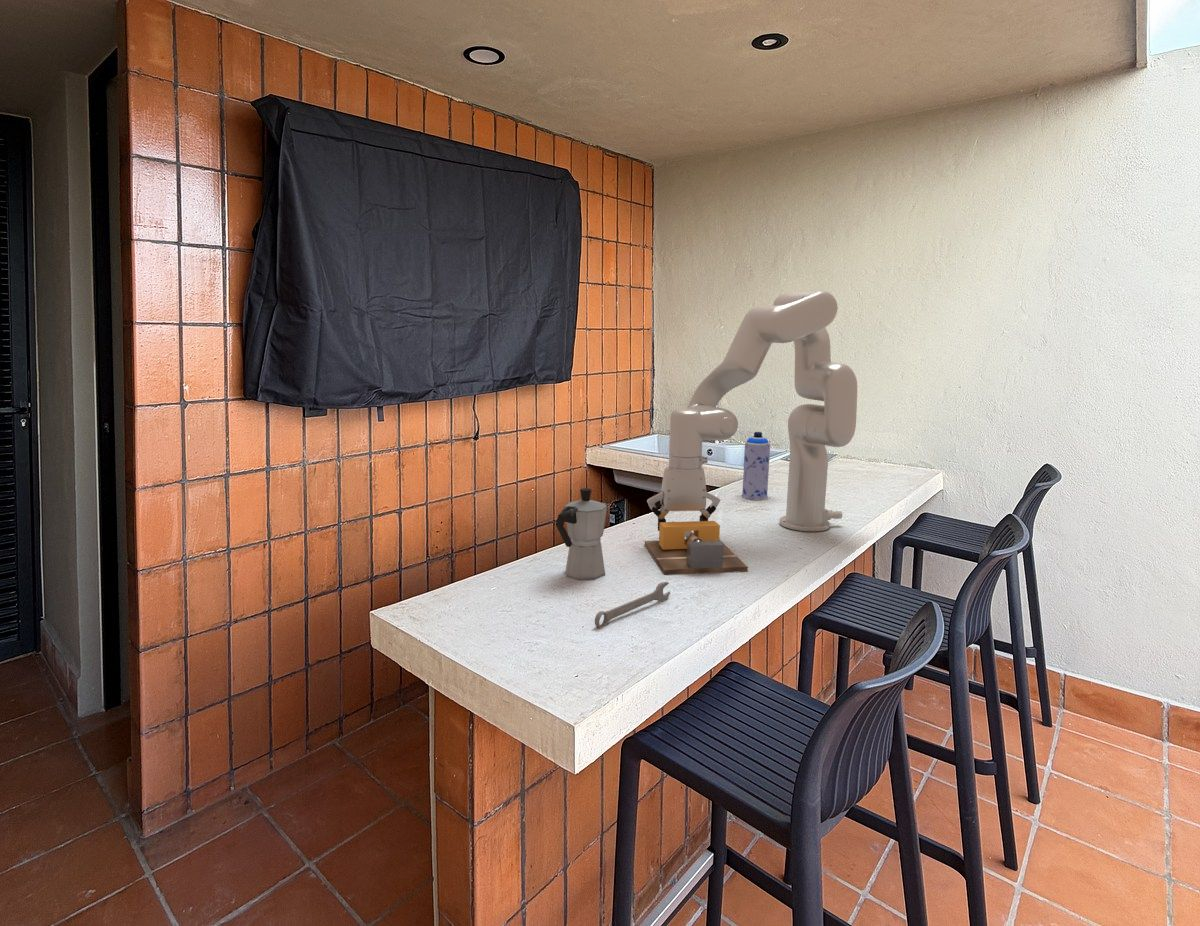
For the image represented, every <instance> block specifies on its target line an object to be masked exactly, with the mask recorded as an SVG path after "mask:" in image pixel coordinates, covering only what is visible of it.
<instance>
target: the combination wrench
mask: <svg viewBox="0 0 1200 926" xmlns="http://www.w3.org/2000/svg"><path fill="white" fill-rule="evenodd" d="M668 585H669V582H668V581H661V582H659V583H658V584H657V586H656V587H655V589H654V590H653V591H652V592H650V593H649V594H646V595H644V596H641V597H638V598H636V599H634V600H631V601H629V602H626V603H624V604H622V605H619V606H617V607H614V608H612V609H609V610H606V611H604V610H601V611H598V612H597V613H596V616H595V617H594V626H595V627H597V628H600V629H602V628H603V627H606V626H607V625H608V623H609V622H610V621H612V619H616V618H617V617H620V616H621V615H624V614H626V613H628V612H631V611H633V610H635V609H637V608H640V607H641V606H644V605H647V604H649V603H651V602H653V601H657V602H660V603H662V602H665V601H667V600H668V598H669V597H670V595H671V591H667V592H666V593H664V589H665V587H666V586H667V587H668ZM602 616H603V620H602V623H601V624H600V620H601V618H602Z"/></svg>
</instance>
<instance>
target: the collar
mask: <svg viewBox="0 0 1200 926" xmlns="http://www.w3.org/2000/svg"><path fill="white" fill-rule="evenodd" d="M720 529H721V525H720V524H719V523H718V522H716V521H715V520H708V521H700V520H697V521H666V522H660V526H659V531H658V532H659V533H658V541H659V545H660V546H661V548H662V549H663V550H665V549H687V542H689V541H688V540H687V539H686V537H685V531H692V532H693V533H694V534H695V535H696V536H697V537H698V538H699V539H701V540H702V541H719V539H720V533H721V532H720Z"/></svg>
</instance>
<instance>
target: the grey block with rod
mask: <svg viewBox="0 0 1200 926" xmlns="http://www.w3.org/2000/svg"><path fill="white" fill-rule="evenodd" d="M685 539H687V540H688V541H689V542H687V560H686V564H687V566H688V567H689V568H690V569H700V568H723V547H724V545H723V544H722V543H721V542H720V541H702V540H701V539H699V538H698V537H697V536H696V535H695V534H694V531H685Z"/></svg>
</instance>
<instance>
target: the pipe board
mask: <svg viewBox="0 0 1200 926" xmlns="http://www.w3.org/2000/svg"><path fill="white" fill-rule="evenodd" d="M719 541H720V542H721V543H722V544H723V545H724V547H723V568H700V569H690V568H689V567H688V566H687V564H686V560H687V549H665V550H663V549H662V548H661V546H660V545H659V540H644V546H645V548H646V549H647V551H648V552H649V554H650V556H651V557H652V558H653V560H654V562H655V563H656V565H658V568H659V569H660V570H661V572H662V573H663V575H684V574H685V575H687V574H708V573H709V574H710V573H711V574H713V573H733V572H734V571H740V572H748V568H749V567H748V566H747V565H746V564H745V562H743V561H742V559H740V558H739V556H737V555H736V554H735V553H734V552H733V551H732V550H731V549H730V548H729V547H728V546H727V545H726V544H725V543H724V542H723V541H722V540H721V539H720V538H719Z"/></svg>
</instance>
